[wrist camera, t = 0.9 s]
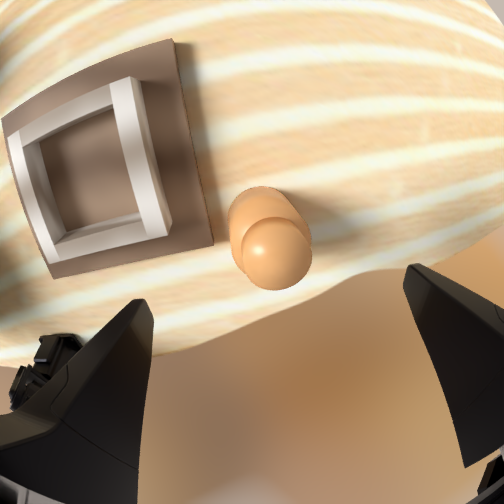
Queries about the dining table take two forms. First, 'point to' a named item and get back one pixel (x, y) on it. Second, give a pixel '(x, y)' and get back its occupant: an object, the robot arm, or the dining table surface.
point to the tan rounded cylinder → (269, 238)
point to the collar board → (109, 164)
